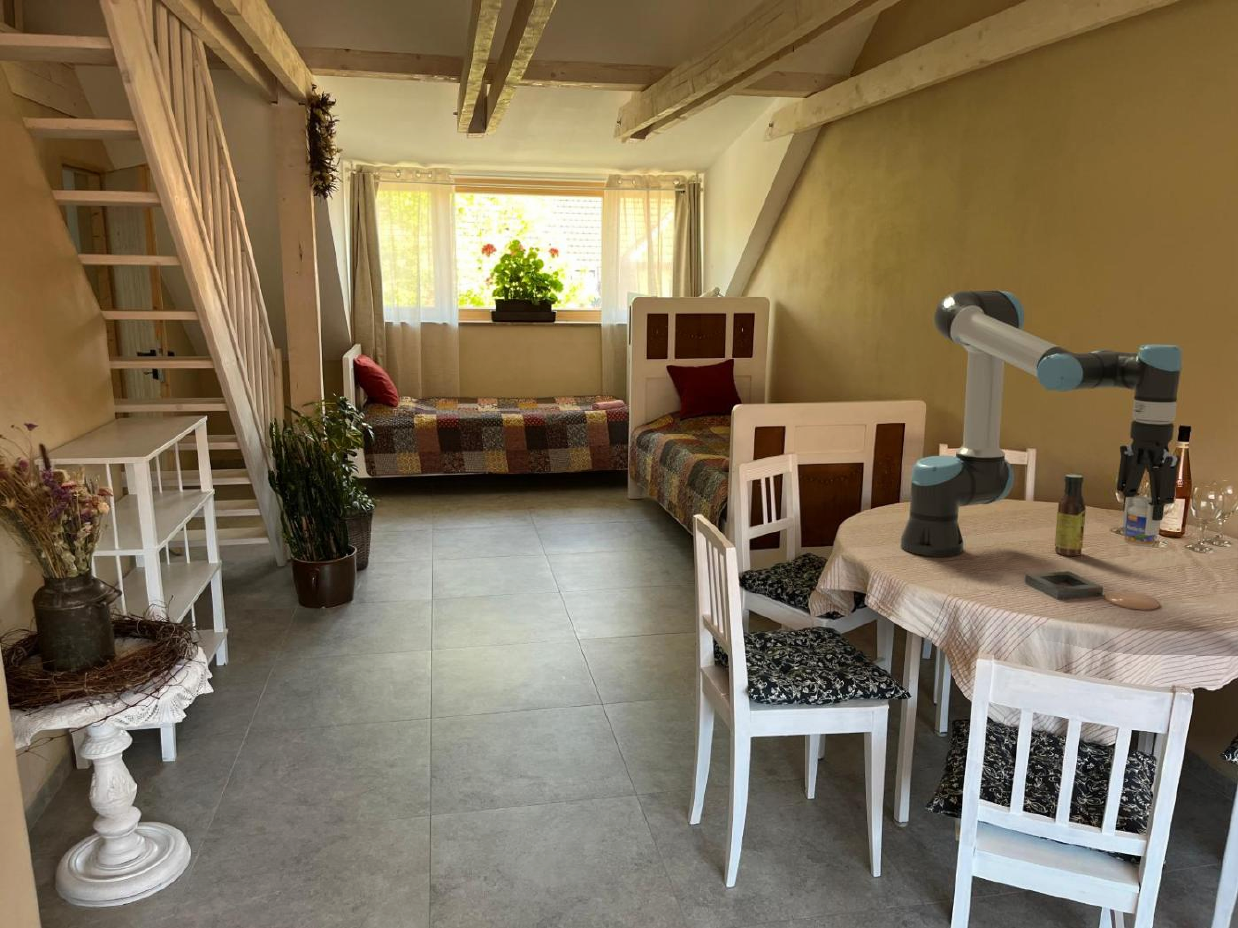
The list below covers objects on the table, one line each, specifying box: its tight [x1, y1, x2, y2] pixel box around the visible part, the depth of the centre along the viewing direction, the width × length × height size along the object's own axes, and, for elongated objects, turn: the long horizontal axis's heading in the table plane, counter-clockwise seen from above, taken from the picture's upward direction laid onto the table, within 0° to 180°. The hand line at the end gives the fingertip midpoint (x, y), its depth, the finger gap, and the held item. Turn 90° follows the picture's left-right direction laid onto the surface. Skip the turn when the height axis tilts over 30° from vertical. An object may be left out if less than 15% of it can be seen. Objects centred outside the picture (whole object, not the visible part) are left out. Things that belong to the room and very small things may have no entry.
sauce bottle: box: [1054, 473, 1087, 557], centre depth 220 cm, size 7×6×20 cm
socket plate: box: [1024, 570, 1104, 600], centre depth 196 cm, size 11×11×2 cm
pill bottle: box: [1124, 495, 1156, 548], centre depth 185 cm, size 5×5×10 cm
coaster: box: [1105, 590, 1160, 611], centre depth 188 cm, size 10×10×1 cm
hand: (1140, 530), depth 185 cm, fingers closed on pill bottle, 5 cm apart
